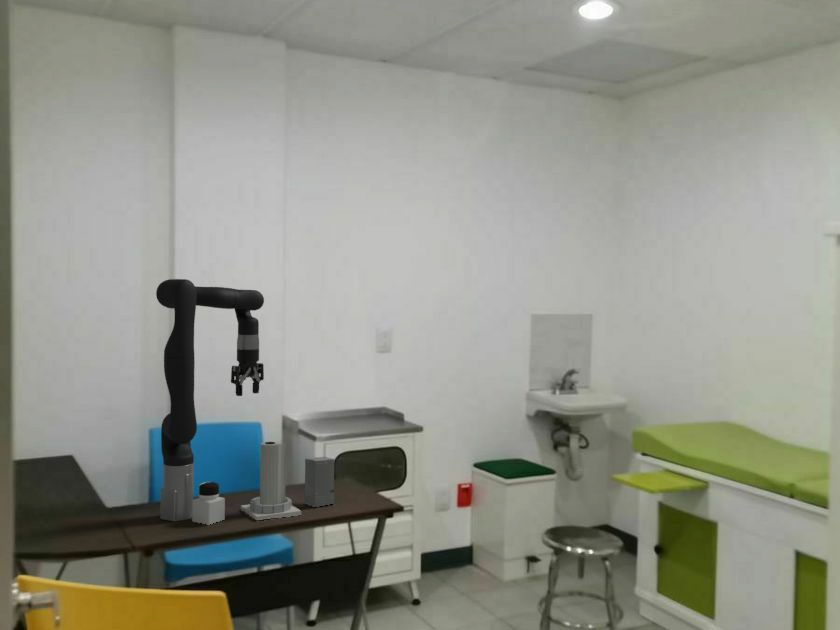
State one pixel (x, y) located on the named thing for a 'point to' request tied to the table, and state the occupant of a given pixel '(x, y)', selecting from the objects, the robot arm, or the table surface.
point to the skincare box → (319, 481)
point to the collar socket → (270, 509)
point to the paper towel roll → (272, 473)
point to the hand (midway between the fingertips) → (247, 394)
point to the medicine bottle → (208, 504)
